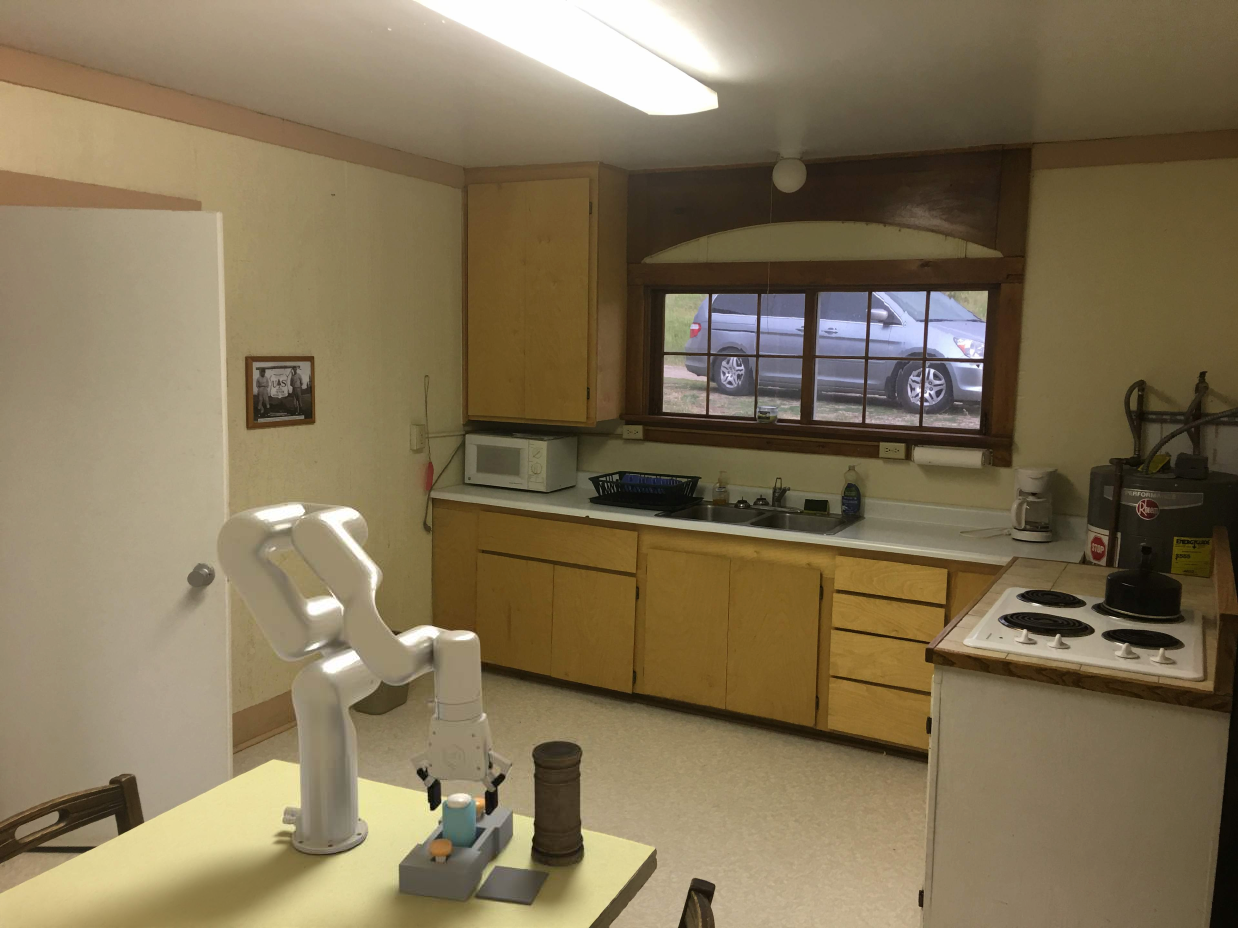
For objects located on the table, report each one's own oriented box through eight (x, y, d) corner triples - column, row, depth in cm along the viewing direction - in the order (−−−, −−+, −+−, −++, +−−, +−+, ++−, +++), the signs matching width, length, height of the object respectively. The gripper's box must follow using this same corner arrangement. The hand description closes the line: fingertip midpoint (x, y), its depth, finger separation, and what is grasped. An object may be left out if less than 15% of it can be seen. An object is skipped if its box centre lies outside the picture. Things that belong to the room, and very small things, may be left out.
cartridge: (437, 867, 152) (436, 803, 152) (450, 851, 158) (450, 789, 157) (468, 871, 151) (468, 807, 150) (480, 855, 157) (480, 793, 156)
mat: (475, 896, 144) (475, 894, 144) (495, 867, 153) (495, 865, 153) (530, 904, 142) (530, 901, 142) (548, 874, 151) (548, 871, 151)
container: (577, 869, 152) (577, 762, 151) (524, 863, 154) (523, 757, 152) (589, 842, 161) (590, 741, 159) (539, 837, 163) (539, 737, 161)
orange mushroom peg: (463, 840, 160) (462, 805, 160) (470, 830, 164) (470, 796, 163) (482, 842, 160) (481, 807, 159) (489, 832, 163) (488, 798, 162)
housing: (399, 891, 145) (398, 864, 145) (454, 827, 166) (454, 802, 166) (465, 901, 143) (465, 872, 142) (513, 833, 164) (512, 809, 163)
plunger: (426, 885, 146) (425, 847, 145) (435, 874, 149) (434, 837, 149) (446, 888, 145) (446, 850, 145) (455, 877, 148) (454, 839, 148)
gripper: (399, 712, 150) (404, 815, 152) (501, 718, 147) (505, 823, 148) (419, 697, 158) (424, 795, 159) (517, 702, 154) (520, 803, 155)
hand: (463, 809), depth 153 cm, fingers open, 9 cm apart
